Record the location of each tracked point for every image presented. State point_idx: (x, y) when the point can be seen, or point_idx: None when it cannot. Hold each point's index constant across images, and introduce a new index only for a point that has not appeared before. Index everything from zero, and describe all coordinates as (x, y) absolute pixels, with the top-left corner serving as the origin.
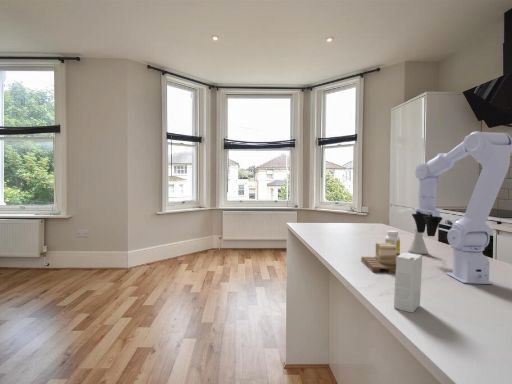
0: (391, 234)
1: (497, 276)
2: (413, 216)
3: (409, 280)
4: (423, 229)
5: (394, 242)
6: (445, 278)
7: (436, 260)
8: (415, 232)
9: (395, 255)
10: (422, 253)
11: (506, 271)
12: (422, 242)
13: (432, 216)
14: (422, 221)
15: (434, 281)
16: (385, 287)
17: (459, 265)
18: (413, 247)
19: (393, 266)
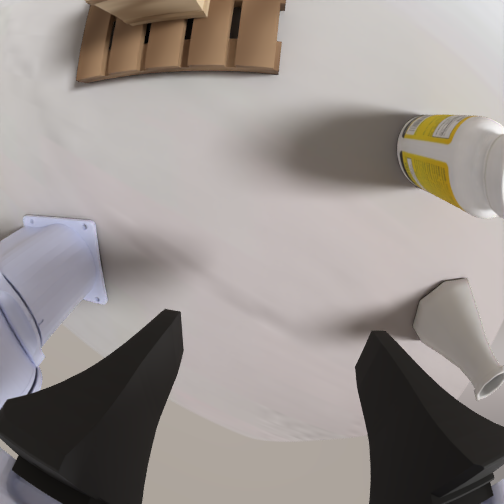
0: (494, 143)
1: None
2: (489, 433)
3: None
4: (363, 385)
5: (441, 146)
6: (54, 187)
7: (315, 313)
8: (493, 360)
9: (110, 12)
10: (417, 314)
11: (179, 403)
12: (446, 350)
13: (18, 456)
14: (388, 445)
15: (28, 135)
16: (13, 7)
17: (19, 243)
18: (455, 302)
19: (97, 14)
